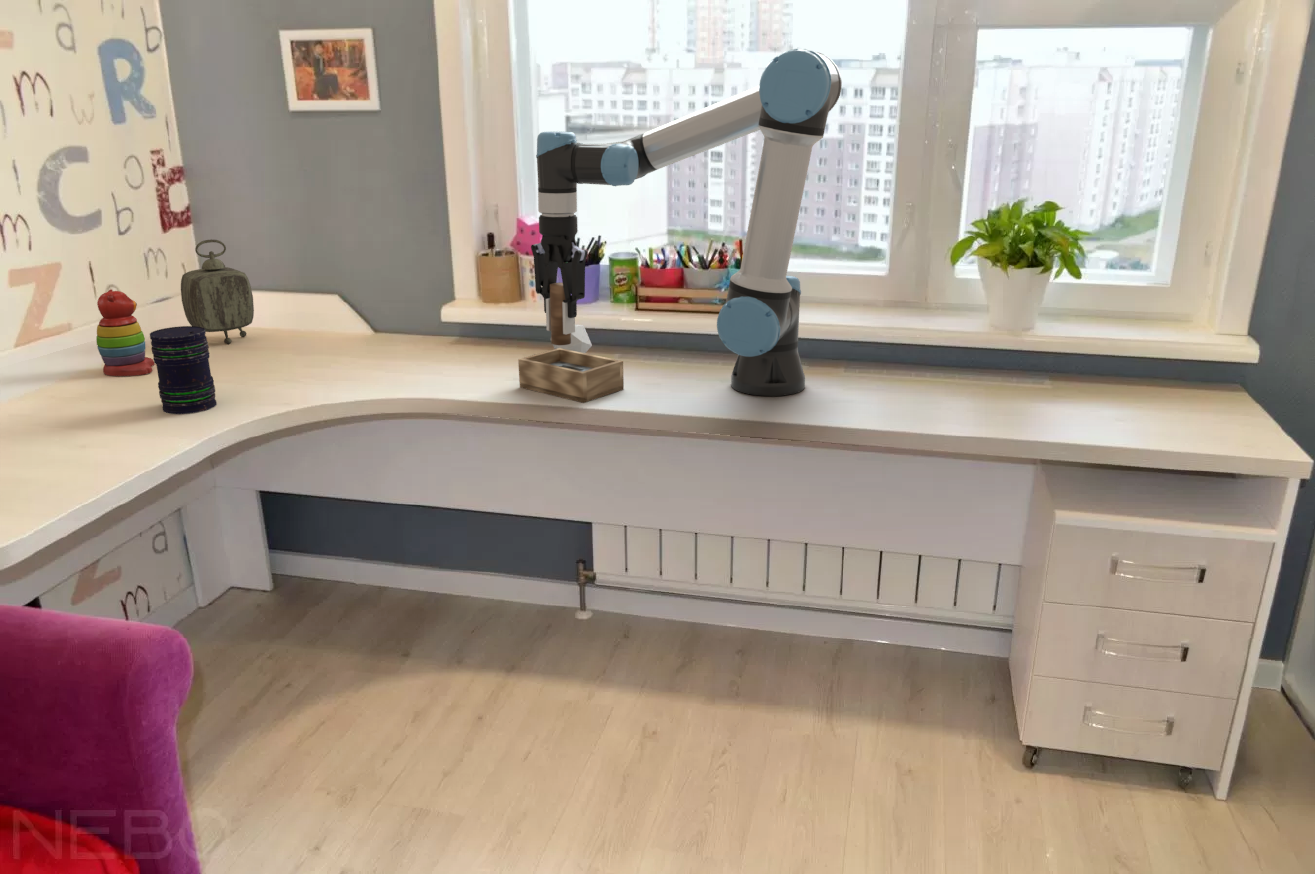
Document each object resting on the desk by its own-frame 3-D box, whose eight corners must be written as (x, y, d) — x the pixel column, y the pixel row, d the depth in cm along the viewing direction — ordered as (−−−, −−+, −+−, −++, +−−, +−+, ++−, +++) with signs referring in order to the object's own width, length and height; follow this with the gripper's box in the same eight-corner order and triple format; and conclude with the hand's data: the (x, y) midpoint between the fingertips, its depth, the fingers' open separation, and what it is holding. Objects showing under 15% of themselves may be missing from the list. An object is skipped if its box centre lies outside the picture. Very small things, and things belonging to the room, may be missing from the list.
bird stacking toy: (151, 374, 217) (137, 293, 211) (99, 379, 213) (83, 297, 208) (155, 362, 226) (141, 284, 221) (105, 367, 223) (90, 288, 217)
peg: (575, 342, 204) (573, 284, 200) (561, 346, 201) (560, 287, 197) (561, 339, 206) (559, 281, 202) (547, 343, 203) (545, 284, 199)
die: (598, 359, 230) (583, 322, 232) (592, 349, 222) (577, 310, 224) (565, 372, 230) (551, 335, 232) (558, 363, 222) (543, 324, 224)
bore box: (623, 389, 204) (623, 361, 202) (583, 403, 195) (582, 373, 193) (560, 375, 215) (559, 347, 213) (519, 387, 206) (518, 359, 204)
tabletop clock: (248, 335, 252) (234, 235, 244) (261, 341, 246) (247, 239, 238) (188, 344, 243) (171, 240, 235) (200, 350, 237) (183, 244, 229)
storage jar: (151, 413, 190) (137, 336, 185) (181, 398, 200) (168, 325, 195) (199, 415, 189) (187, 338, 184) (227, 400, 198) (216, 326, 193)
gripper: (603, 216, 192) (604, 334, 200) (540, 209, 203) (544, 322, 210) (576, 219, 187) (578, 341, 195) (513, 212, 197) (518, 328, 205)
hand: (560, 331), depth 202 cm, fingers closed on peg, 4 cm apart
